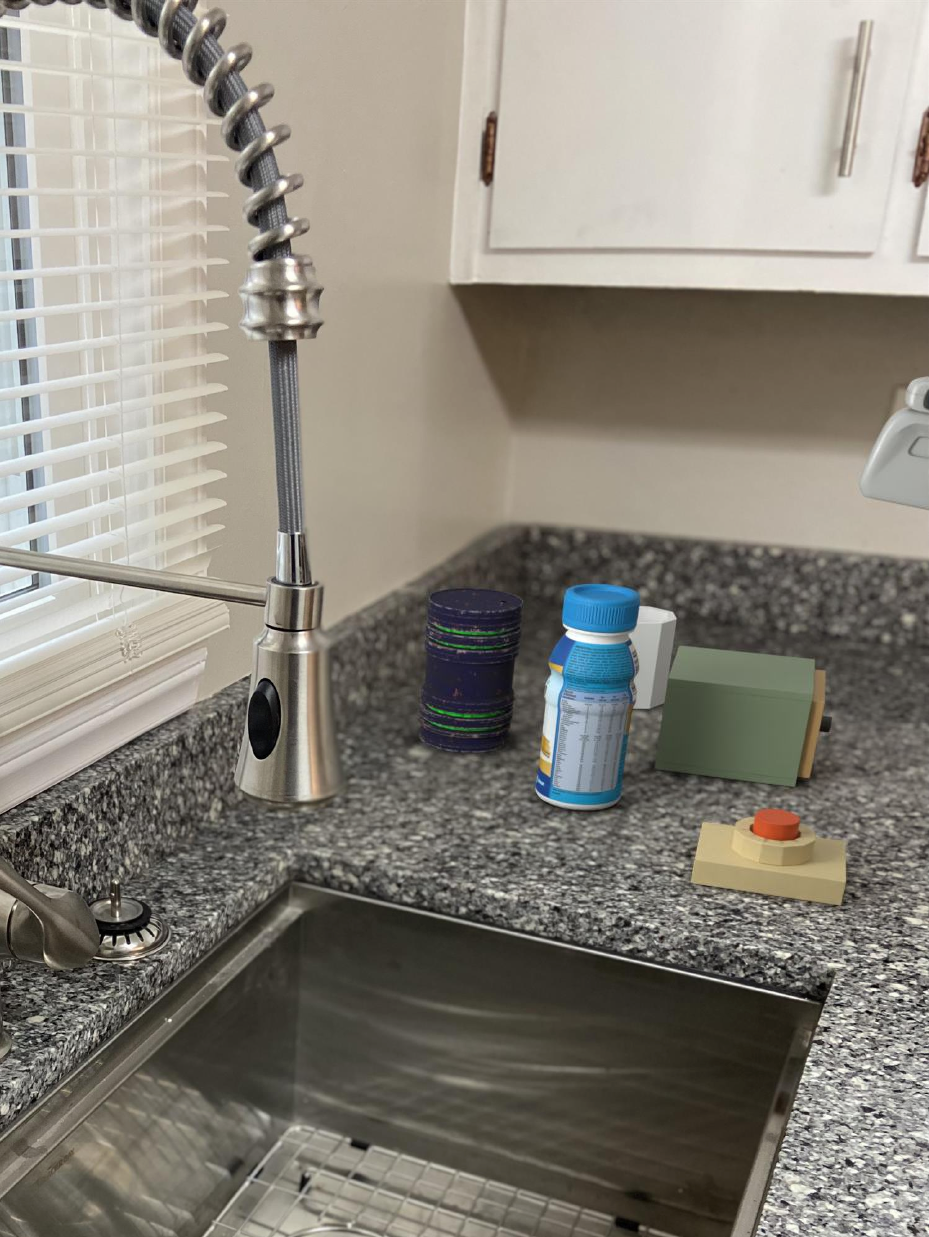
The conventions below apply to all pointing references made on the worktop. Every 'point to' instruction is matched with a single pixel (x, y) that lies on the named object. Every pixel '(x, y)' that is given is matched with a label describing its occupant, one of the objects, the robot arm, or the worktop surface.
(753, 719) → the cabinet
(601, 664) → the beverage bottle
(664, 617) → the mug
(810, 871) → the control block
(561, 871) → the worktop surface
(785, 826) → the button
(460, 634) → the storage jar
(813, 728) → the drawer
